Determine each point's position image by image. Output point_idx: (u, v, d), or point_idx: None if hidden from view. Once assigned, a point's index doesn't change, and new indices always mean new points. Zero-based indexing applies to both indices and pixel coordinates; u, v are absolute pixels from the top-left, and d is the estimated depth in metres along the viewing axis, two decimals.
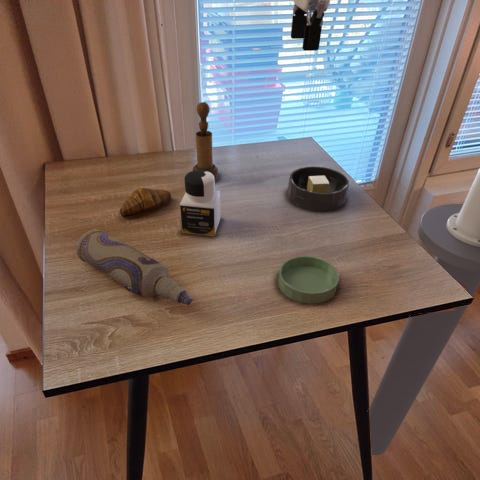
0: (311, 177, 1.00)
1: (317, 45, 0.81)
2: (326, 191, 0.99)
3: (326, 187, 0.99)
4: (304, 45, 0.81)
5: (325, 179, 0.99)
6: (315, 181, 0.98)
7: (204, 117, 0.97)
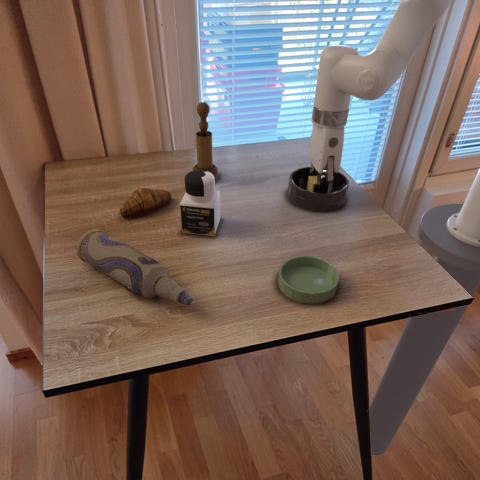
0: (311, 177, 1.00)
1: None
2: None
3: None
4: None
5: None
6: (315, 181, 0.98)
7: (204, 117, 0.97)
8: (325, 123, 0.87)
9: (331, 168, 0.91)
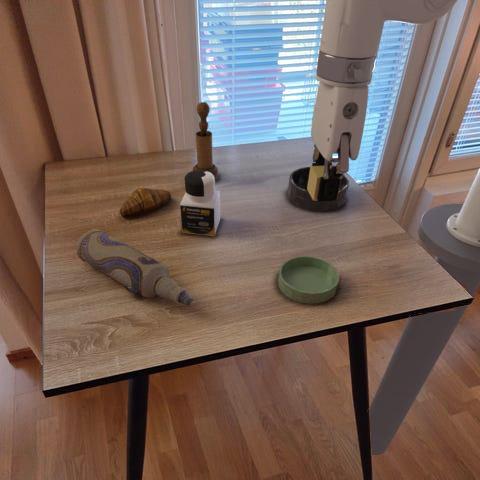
0: (314, 168, 0.67)
1: (335, 196, 0.67)
2: None
3: None
4: (319, 196, 0.66)
5: None
6: (320, 173, 0.65)
7: (204, 117, 0.97)
8: (338, 78, 0.54)
9: (346, 152, 0.58)
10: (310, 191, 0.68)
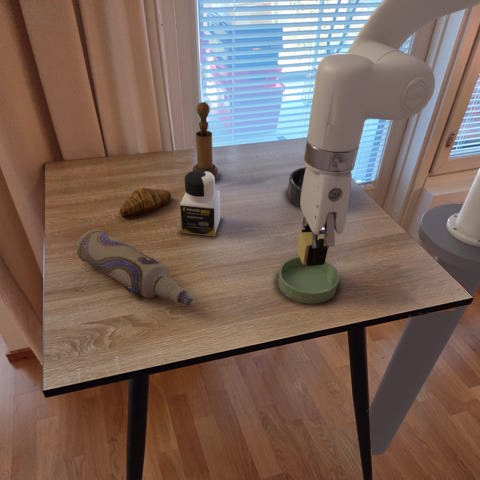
0: (303, 234, 0.72)
1: (323, 261, 0.72)
2: None
3: None
4: (308, 261, 0.71)
5: (323, 237, 0.71)
6: (309, 241, 0.70)
7: (204, 117, 0.97)
8: (323, 167, 0.59)
9: (332, 229, 0.63)
10: (300, 255, 0.73)
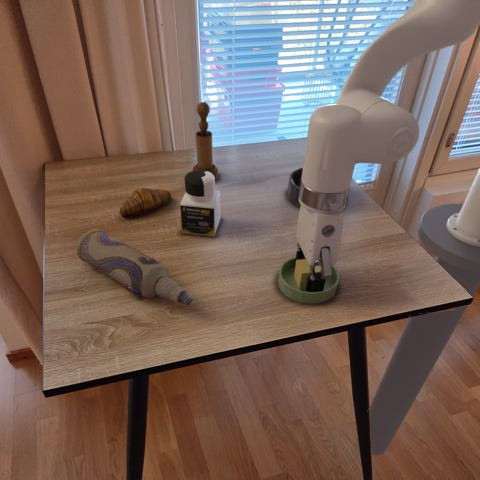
0: (299, 262, 0.76)
1: None
2: None
3: None
4: None
5: None
6: (304, 269, 0.75)
7: (204, 117, 0.97)
8: (317, 206, 0.63)
9: (327, 260, 0.67)
10: (296, 280, 0.78)
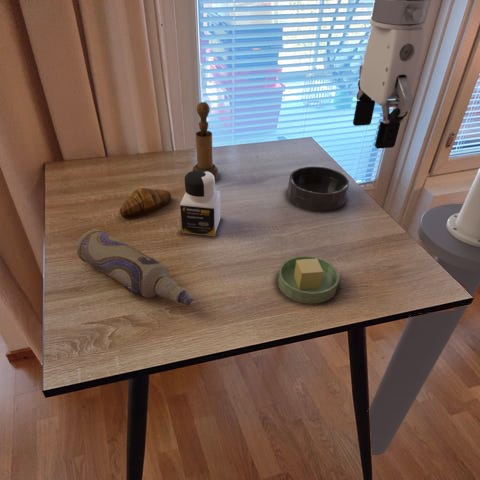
0: (299, 262, 0.76)
1: (393, 142, 0.67)
2: (319, 280, 0.76)
3: (319, 276, 0.75)
4: (378, 143, 0.67)
5: (318, 265, 0.76)
6: (304, 269, 0.75)
7: (204, 117, 0.97)
8: (395, 21, 0.57)
9: (406, 86, 0.60)
10: (296, 280, 0.78)
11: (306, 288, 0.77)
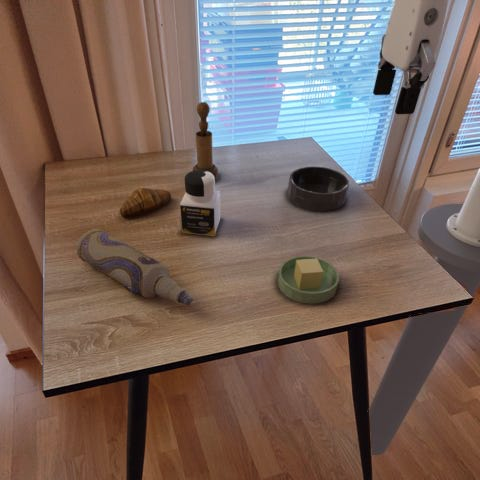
0: (299, 262, 0.76)
1: (413, 108, 0.69)
2: (319, 280, 0.76)
3: (319, 276, 0.75)
4: (398, 109, 0.69)
5: (318, 265, 0.76)
6: (304, 269, 0.75)
7: (204, 117, 0.97)
8: None
9: (429, 50, 0.62)
10: (296, 280, 0.78)
11: (306, 288, 0.77)
